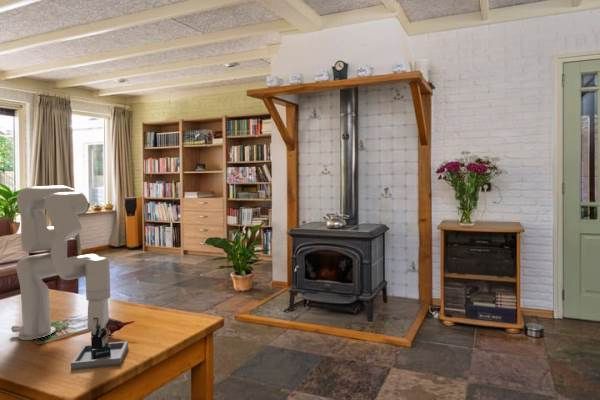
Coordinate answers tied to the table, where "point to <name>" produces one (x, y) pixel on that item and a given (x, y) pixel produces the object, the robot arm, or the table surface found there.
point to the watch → (105, 346)
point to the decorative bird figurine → (116, 325)
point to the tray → (86, 361)
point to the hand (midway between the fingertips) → (100, 342)
